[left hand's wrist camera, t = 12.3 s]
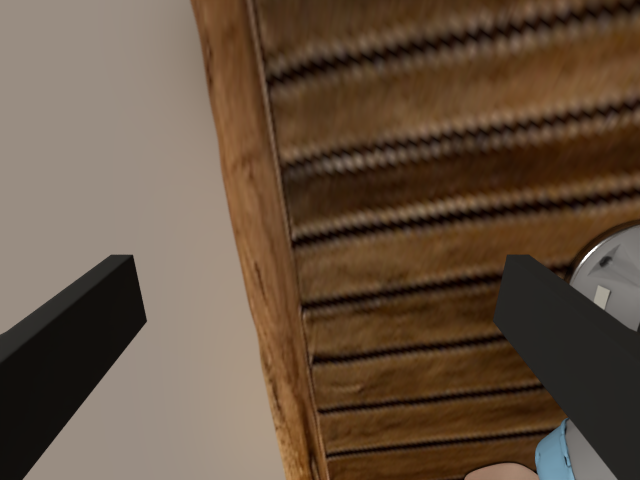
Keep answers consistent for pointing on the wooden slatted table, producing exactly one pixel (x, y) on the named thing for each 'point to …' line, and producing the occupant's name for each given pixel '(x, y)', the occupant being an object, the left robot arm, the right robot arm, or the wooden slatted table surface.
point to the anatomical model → (503, 473)
